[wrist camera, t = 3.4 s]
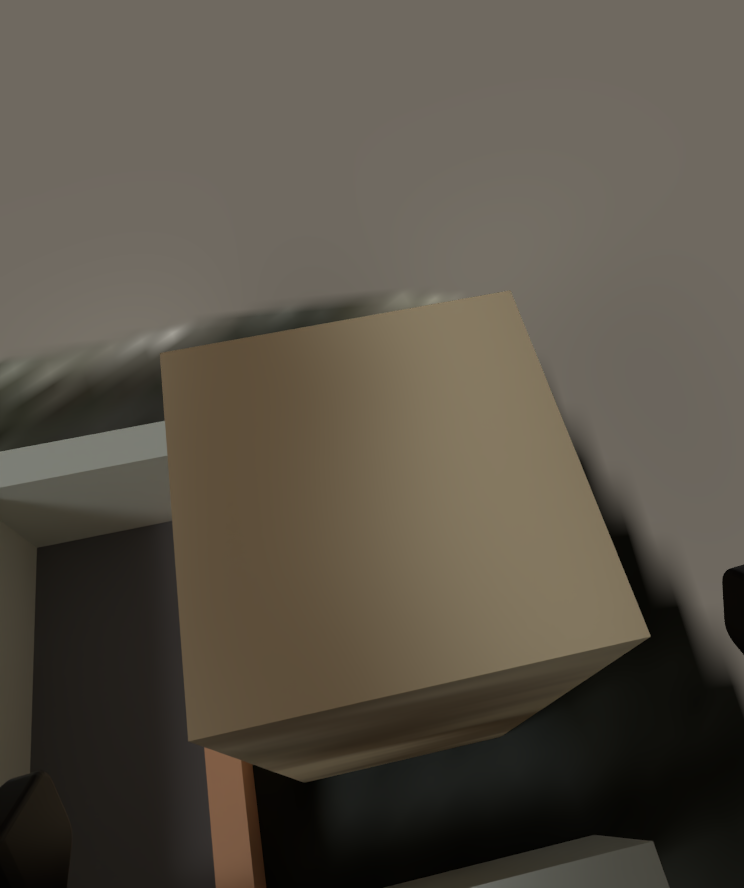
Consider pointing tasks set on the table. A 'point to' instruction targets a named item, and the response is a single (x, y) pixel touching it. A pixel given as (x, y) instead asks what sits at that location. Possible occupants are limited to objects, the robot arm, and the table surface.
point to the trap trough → (155, 689)
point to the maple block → (381, 539)
